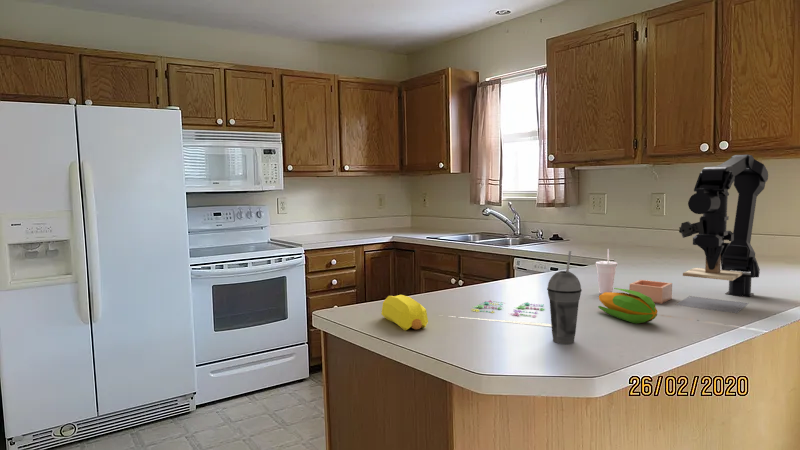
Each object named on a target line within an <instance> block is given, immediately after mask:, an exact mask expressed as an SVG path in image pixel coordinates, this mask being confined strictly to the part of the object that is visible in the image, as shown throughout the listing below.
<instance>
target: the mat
mask: <svg viewBox="0 0 800 450" xmlns="http://www.w3.org/2000/svg"><path fill="white" fill-rule="evenodd" d="M748 304H749V302H744V301H735V300H727V299H719V298H709V297H701V296H693V295H689V296H687V297H686V298H683V299H682V300H680V301H678V302H677V303H675V304H674V306H680V307H688V308H697V309H703V310H709V311H717V312H725V313H734V314H738V313H739V312H740V311H741V310H743V309H744V308H745V307H746V306H747V305H748Z"/></svg>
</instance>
